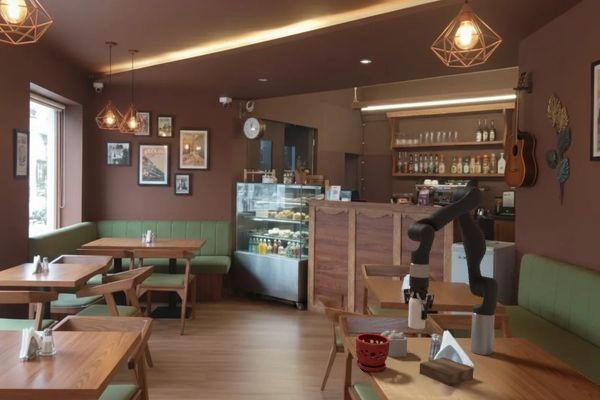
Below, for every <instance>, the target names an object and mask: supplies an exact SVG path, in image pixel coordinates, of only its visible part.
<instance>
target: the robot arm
mask: <svg viewBox="0 0 600 400" xmlns="http://www.w3.org/2000/svg"><path fill="white" fill-rule="evenodd" d="M451 195H452V196H451V198H452V199H451V200H452V203H451V204H448V205H445V206H443V207H440V208H438V209H436V210H435V211H433V212H432V213H430V214H429V215H428V216H426V217H423V218H420V219H418V220H417V221H414V222H413V223H411V224H410V225H409V226H408V229H407V231H406V232H407V237H408V239H409V240H411V241H414V242H417V243H418V242H419V246H418V247H413V248H412V249H411V251H410V266H409V280H408V286H409V288H403V299H404V304H405V305H407V307H409V300H410V298H411V297H412V298H416V299H419V302H420V304H421V308H422V310H421V320H425V321H426V320H427V318H428V311H429V310H432V309H433V305H434V300H435V294H430V293H429V290H428V288H429V287H430V286H429V285H430V254H431V250H432V247H433V243H434V240H435V237H436V233H437V232H439V231H441V229H443V228H445V227H446V226H447V225H448V224H449V223H451V222H452V221H454V220H456V219H457V220H458V221H457V222H458V225H459V230H460V234H461V242H462V244H463V245H462V246H463V250H464V254H465V260H466V266H467V275H468V285H469V286H468V287H469V290H470V292H471V294H472V295H473V296H475V297H479V298H482V302H481V303H477V304H474V305H473V306H472V315H471V331H470V332H471V335H470V351H471V352H472V353H474V354H477V355H483V356H486V355H487V356H490V355H493V353H494V351H495V336H496V334H495V333H496V332H495V314H496V313H495V312H496V308H497V303H498V294H499V283H498V281H497V279H496V278H494V277H489V276H484V275H483V274H482V272H481V263H482V261H483V259H484V257H485V255H486V252H487V244H486V239H485V238H486V237H485V234H484V232H483V230H482V229H481V227H480V226H479V224H478V223H477V222H476V221H475V219H474V218H473V216H472V215H471V211H473V210H475V209H477V208H479V207H480V205H481V204H482V202H483V192H482V190H481V189H480V188H479V187H477V186H466V185H462V186H461V185H459V186H458V185H457V186H455V187H454V189H453V191H452V194H451ZM422 300H425V302H422ZM424 304H425V307H424Z"/></svg>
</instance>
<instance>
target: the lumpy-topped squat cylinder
mask: <svg viewBox="0 0 600 400" xmlns="http://www.w3.org/2000/svg"><path fill="white" fill-rule="evenodd" d="M380 335H382V336H385V337H387V338H388V339H389V340H390V345H389V352H388V356H387V358H388V357H389V358H396V357H399V358H405V357H407V355H408V354H407V351H408V350H407V349H408V338H407V336H406V334H405V333H404V332H402V331H401V332H398V331H397V330H395V329H392V330H391V331H390V330H389V329H388V330H386V331H384V332H381V334H380ZM382 343H383V342H382V341H381V342H380V344H382Z"/></svg>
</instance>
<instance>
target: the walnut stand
mask: <svg viewBox="0 0 600 400" xmlns="http://www.w3.org/2000/svg"><path fill="white" fill-rule="evenodd" d="M419 375H422V376H424V377H427V378H430V379H432V380H434V381H437V382H440V383H441V384H444V385H446V386H452V385H453V386H454V385H456V384H459V383H463V382H466V381H469V380H472V379H474V367H472V366H469V365H466V364H463V363H461V362H457V361H455V360H452V359H450V358H447V357H445V356H444V357H440V358H436V359H431V360H428V361H423V362H420V363H419Z"/></svg>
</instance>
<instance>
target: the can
mask: <svg viewBox="0 0 600 400" xmlns="http://www.w3.org/2000/svg"><path fill="white" fill-rule="evenodd" d="M422 302H425V300H422ZM424 307H425V304H424ZM421 310H422V308H421V304H420V302H419V299H416V298H412V297H411V298H410V300H409V306H408V321H407V322H408V325H407V326H408V327H409V329H413V330H419V331H421V330H424V329H425V328H426V320H421Z"/></svg>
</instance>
